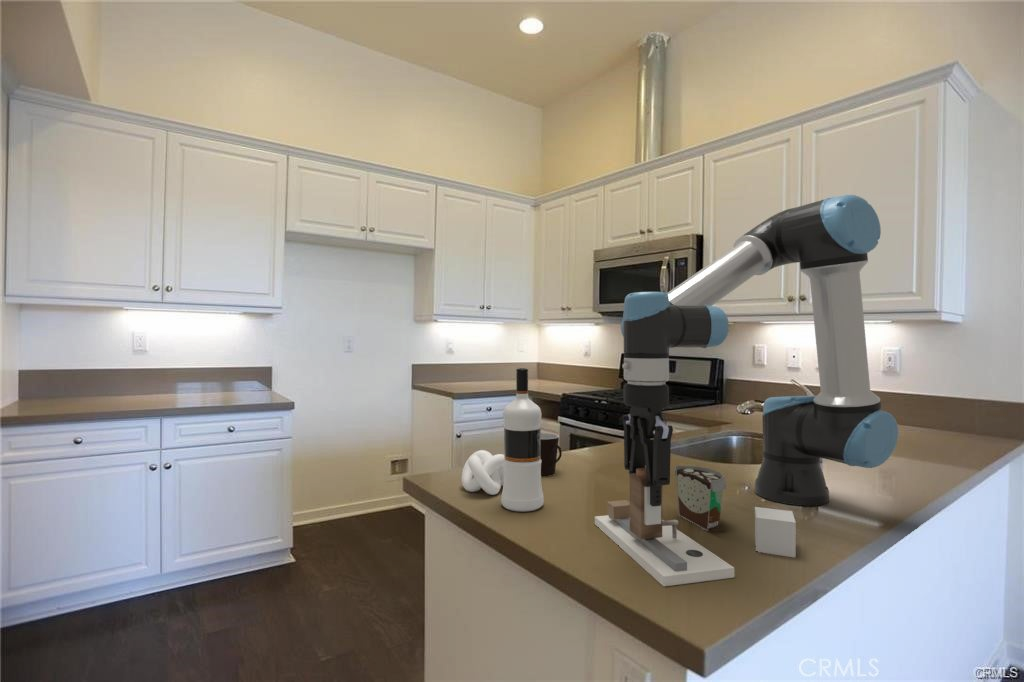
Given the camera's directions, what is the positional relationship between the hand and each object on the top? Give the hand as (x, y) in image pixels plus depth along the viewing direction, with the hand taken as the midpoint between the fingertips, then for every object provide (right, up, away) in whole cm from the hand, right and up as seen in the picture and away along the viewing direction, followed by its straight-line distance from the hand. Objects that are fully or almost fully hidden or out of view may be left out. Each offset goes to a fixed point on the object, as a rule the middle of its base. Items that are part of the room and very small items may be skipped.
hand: (645, 518), depth 89 cm
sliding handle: (+2, -4, +1) cm, 4 cm away
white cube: (+23, -6, +1) cm, 24 cm away
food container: (+16, -6, +14) cm, 22 cm away
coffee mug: (-14, -5, +49) cm, 51 cm away
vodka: (-21, -6, +24) cm, 32 cm away
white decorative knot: (-29, -6, +35) cm, 46 cm away
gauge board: (+2, -6, +2) cm, 6 cm away
